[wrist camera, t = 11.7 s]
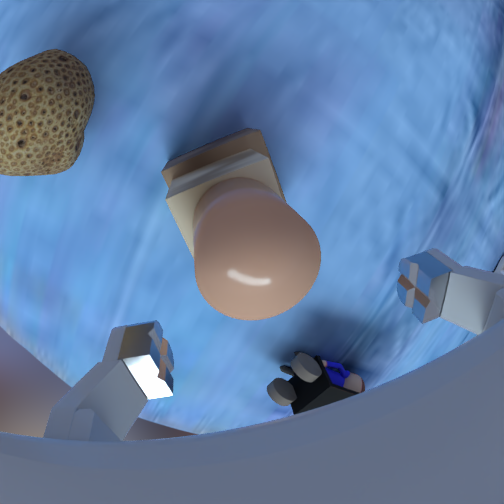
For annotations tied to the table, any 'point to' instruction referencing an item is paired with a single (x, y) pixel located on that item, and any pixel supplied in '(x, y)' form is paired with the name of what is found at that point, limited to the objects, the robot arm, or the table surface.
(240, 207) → the tan rounded cylinder
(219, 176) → the tower top
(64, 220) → the table surface
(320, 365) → the toy car
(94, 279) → the table surface
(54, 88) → the natural sponge
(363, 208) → the table surface
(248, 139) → the tower base
